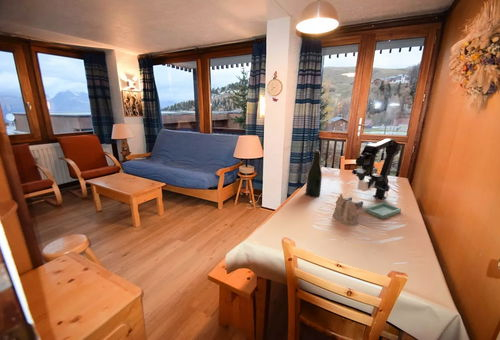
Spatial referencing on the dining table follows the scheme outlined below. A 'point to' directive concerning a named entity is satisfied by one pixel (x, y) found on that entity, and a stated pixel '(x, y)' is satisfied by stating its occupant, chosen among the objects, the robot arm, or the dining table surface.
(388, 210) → the tray
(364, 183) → the teal striped block
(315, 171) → the beer bottle
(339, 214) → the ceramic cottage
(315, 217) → the dining table surface
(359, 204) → the bay
